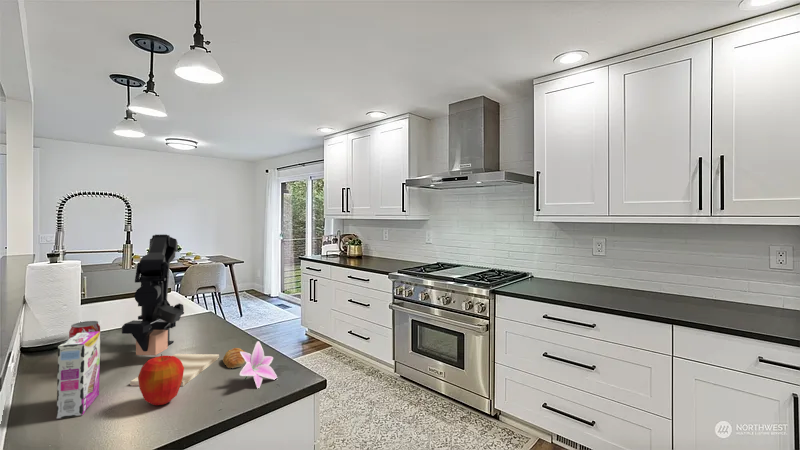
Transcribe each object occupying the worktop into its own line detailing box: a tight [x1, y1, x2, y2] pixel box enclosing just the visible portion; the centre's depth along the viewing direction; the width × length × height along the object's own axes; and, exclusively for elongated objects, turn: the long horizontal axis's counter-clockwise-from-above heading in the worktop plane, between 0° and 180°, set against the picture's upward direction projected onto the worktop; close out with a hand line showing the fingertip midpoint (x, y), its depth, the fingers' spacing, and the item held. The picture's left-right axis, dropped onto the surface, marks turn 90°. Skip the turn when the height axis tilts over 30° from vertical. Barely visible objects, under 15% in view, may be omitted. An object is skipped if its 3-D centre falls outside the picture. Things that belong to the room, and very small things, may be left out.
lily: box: [239, 341, 278, 389], centre depth 103 cm, size 12×12×10 cm
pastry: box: [222, 347, 246, 369], centre depth 115 cm, size 9×7×4 cm
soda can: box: [68, 320, 102, 361], centre depth 111 cm, size 7×7×13 cm
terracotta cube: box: [135, 330, 169, 356], centre depth 117 cm, size 6×6×6 cm
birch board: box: [129, 353, 220, 387], centre depth 109 cm, size 20×14×1 cm
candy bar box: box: [56, 330, 101, 420], centre depth 88 cm, size 11×5×16 cm, turn 23°
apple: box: [137, 354, 184, 406], centre depth 90 cm, size 9×9×12 cm
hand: (152, 347), depth 117 cm, fingers closed on terracotta cube, 6 cm apart
